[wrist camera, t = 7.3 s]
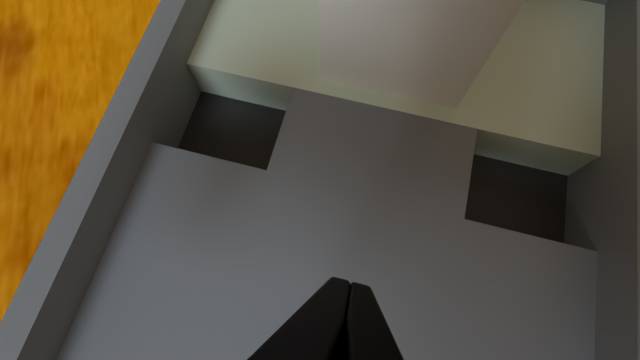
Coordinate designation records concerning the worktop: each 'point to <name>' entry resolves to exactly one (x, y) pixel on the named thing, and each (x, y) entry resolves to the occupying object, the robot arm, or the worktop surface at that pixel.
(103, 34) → the worktop surface
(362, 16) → the cream block
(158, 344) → the gray open tray
